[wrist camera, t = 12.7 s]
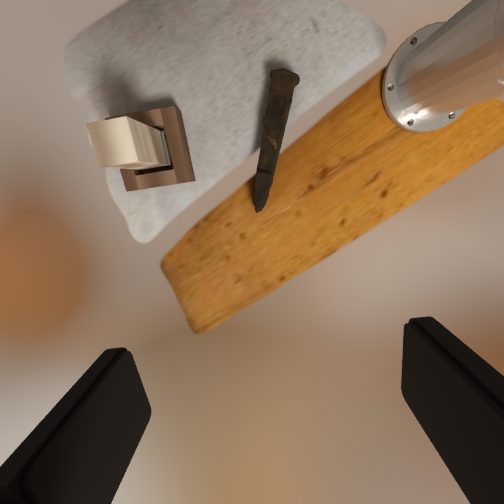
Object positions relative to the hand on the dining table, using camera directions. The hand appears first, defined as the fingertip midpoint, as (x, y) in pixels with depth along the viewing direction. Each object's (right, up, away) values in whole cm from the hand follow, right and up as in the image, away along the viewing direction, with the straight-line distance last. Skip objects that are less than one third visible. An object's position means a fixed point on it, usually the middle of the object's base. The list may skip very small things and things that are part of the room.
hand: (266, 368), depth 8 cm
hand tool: (+3, +20, +29) cm, 35 cm away
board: (-15, +19, +29) cm, 38 cm away
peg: (-15, +19, +29) cm, 38 cm away
